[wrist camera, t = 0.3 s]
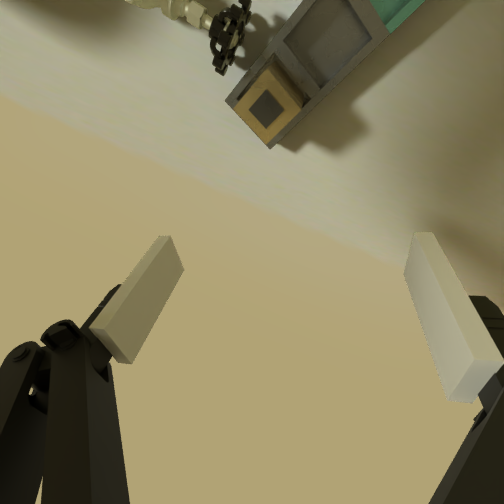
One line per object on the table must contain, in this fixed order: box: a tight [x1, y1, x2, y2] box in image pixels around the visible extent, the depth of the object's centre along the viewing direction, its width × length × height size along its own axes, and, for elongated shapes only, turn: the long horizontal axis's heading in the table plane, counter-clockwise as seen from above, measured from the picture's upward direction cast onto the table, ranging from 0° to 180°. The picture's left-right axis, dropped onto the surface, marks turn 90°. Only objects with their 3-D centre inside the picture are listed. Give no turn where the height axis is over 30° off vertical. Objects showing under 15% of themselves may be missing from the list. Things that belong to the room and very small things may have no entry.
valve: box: [125, 0, 252, 76], centre depth 26 cm, size 7×7×12 cm
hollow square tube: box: [233, 60, 304, 144], centre depth 28 cm, size 5×5×8 cm
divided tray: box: [225, 0, 425, 149], centre depth 26 cm, size 7×22×3 cm, turn 136°
